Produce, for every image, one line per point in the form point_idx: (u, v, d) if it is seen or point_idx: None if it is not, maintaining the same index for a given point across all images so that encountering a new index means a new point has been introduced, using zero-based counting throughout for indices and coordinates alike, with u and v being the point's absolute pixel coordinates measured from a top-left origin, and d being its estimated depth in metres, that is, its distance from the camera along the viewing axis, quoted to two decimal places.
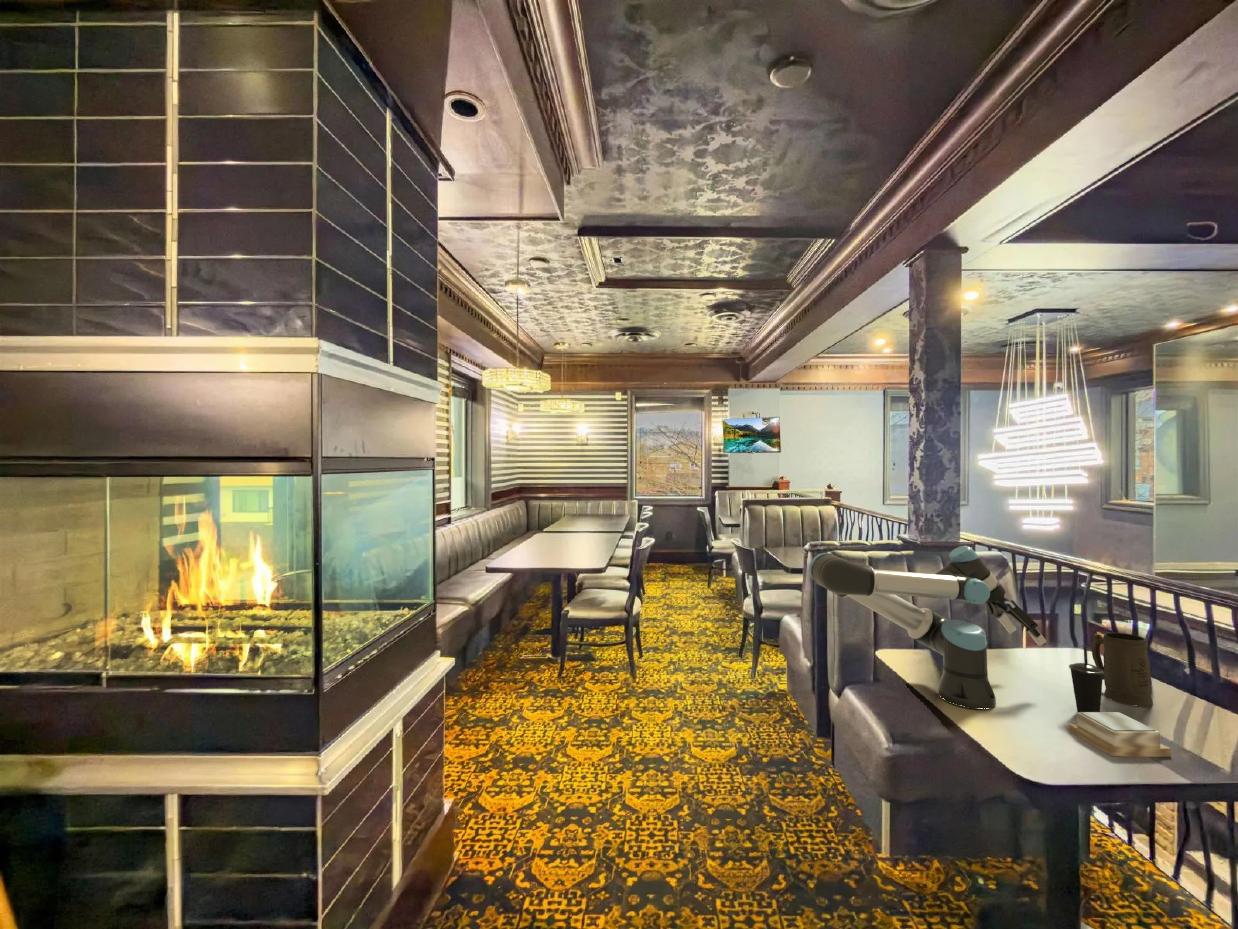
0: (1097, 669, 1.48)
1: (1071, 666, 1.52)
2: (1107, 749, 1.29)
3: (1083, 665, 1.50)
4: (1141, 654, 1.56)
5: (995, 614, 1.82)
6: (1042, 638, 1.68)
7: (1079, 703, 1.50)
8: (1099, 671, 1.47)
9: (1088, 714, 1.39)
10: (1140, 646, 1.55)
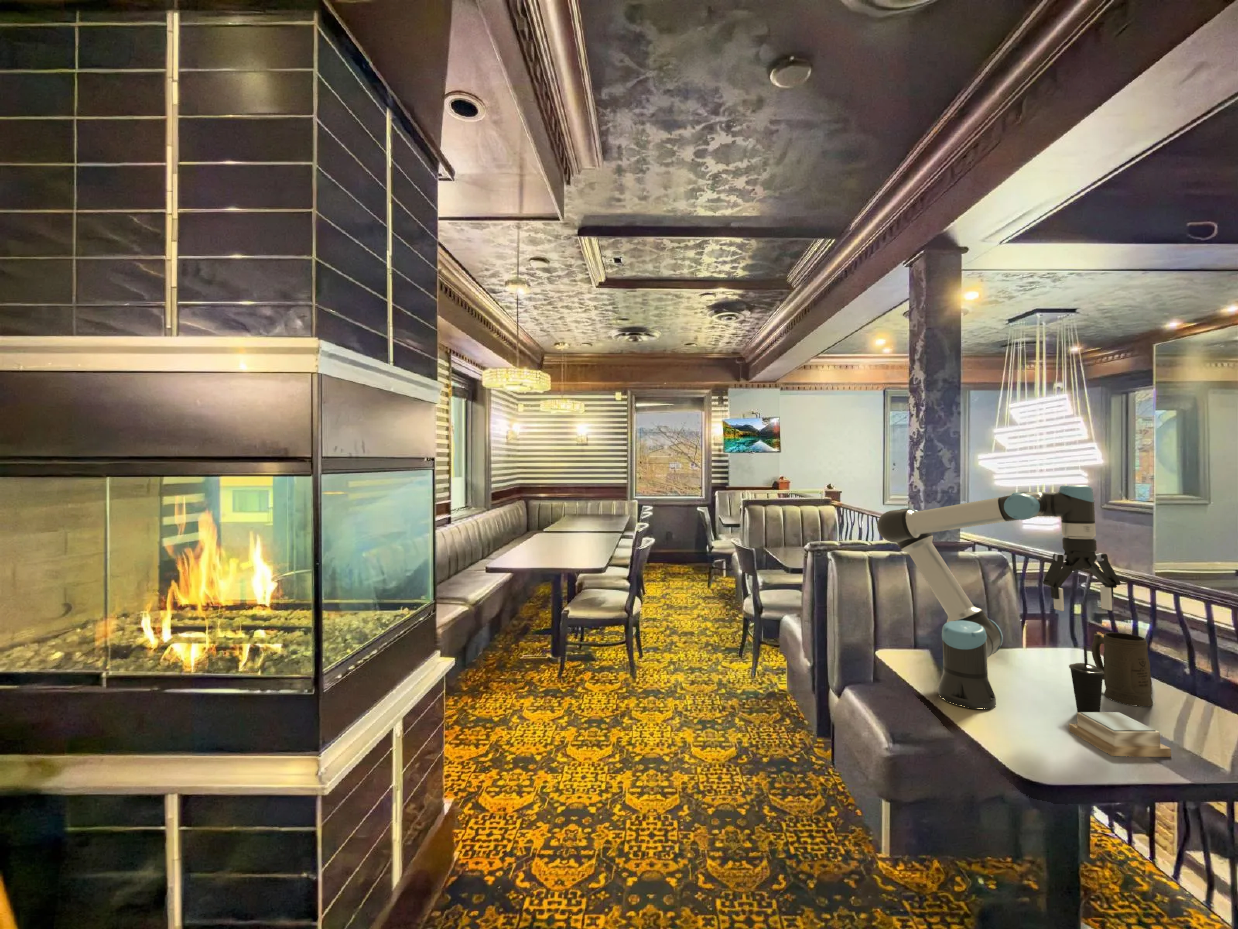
0: (1097, 669, 1.48)
1: (1071, 666, 1.52)
2: (1107, 749, 1.29)
3: (1083, 665, 1.50)
4: (1141, 654, 1.56)
5: None
6: (1059, 605, 1.51)
7: (1079, 703, 1.50)
8: (1099, 671, 1.47)
9: (1088, 714, 1.39)
10: (1140, 646, 1.55)
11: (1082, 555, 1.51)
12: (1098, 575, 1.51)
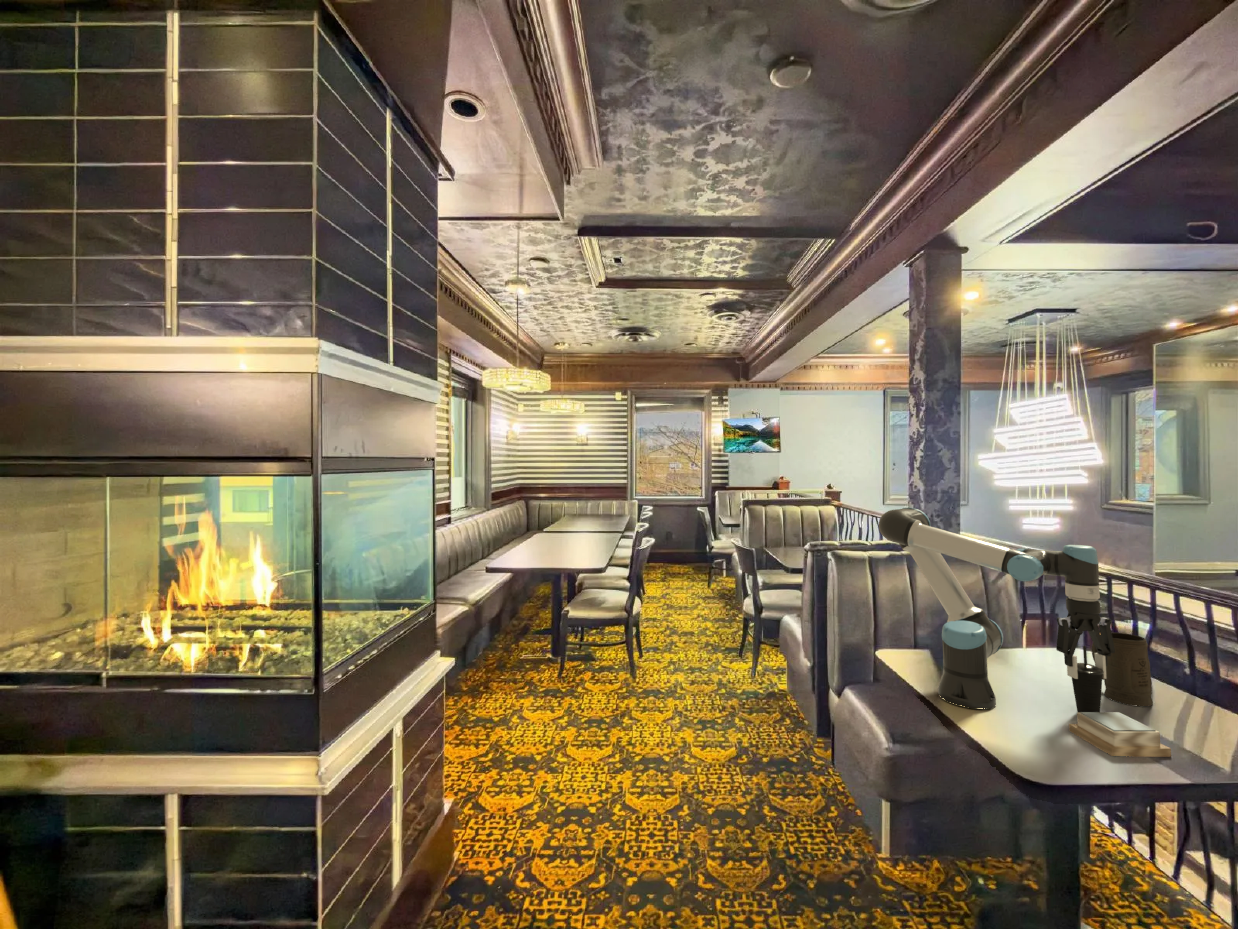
0: (1097, 669, 1.48)
1: None
2: (1107, 749, 1.29)
3: (1083, 665, 1.50)
4: (1141, 654, 1.56)
5: None
6: (1073, 672, 1.50)
7: (1079, 703, 1.50)
8: (1099, 671, 1.47)
9: (1088, 714, 1.39)
10: (1140, 646, 1.55)
11: (1086, 617, 1.50)
12: (1096, 639, 1.50)
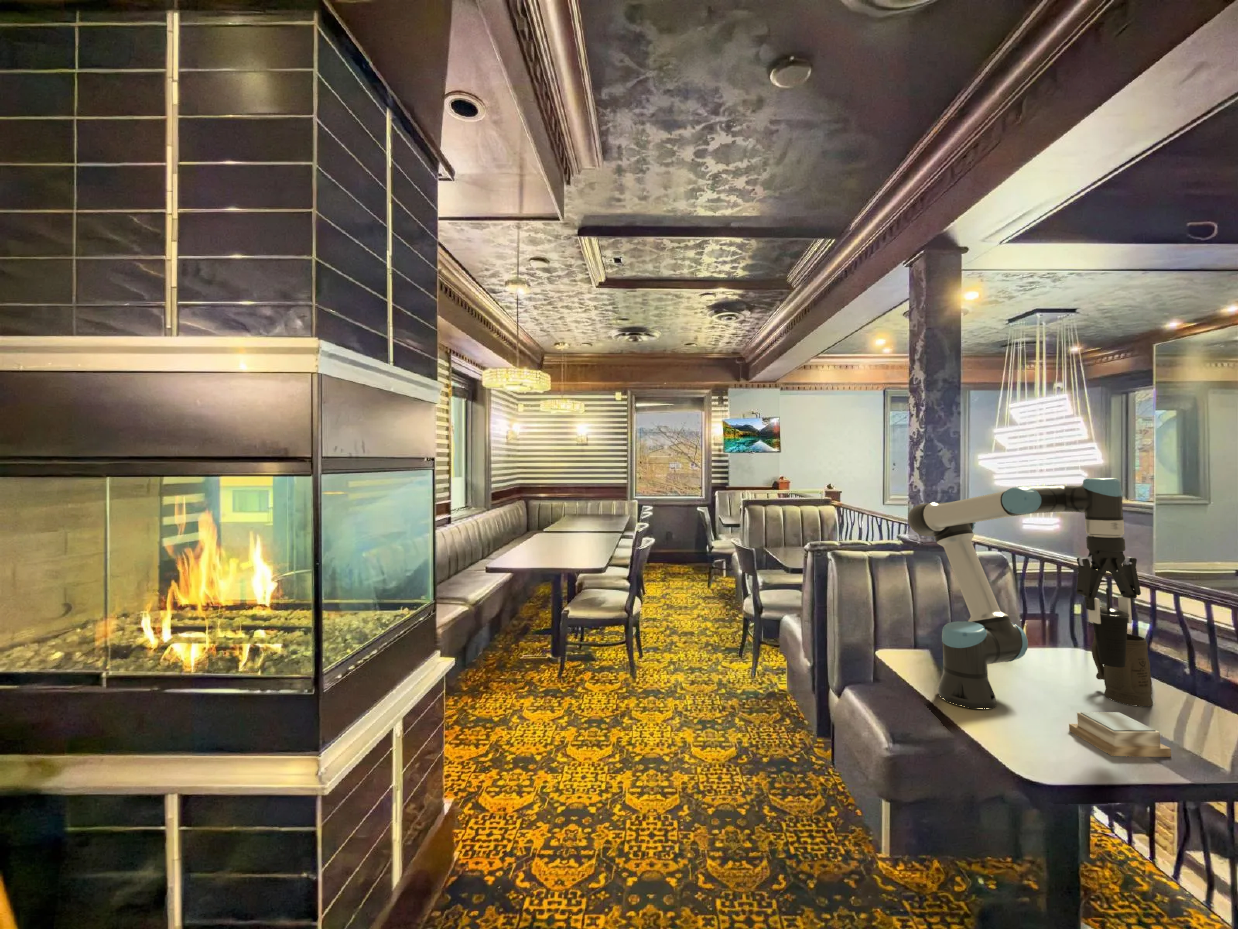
0: (1122, 612, 1.34)
1: None
2: (1107, 749, 1.29)
3: (1106, 609, 1.36)
4: (1141, 654, 1.56)
5: None
6: (1095, 617, 1.36)
7: (1102, 651, 1.36)
8: (1124, 614, 1.33)
9: (1088, 714, 1.39)
10: (1140, 646, 1.55)
11: (1109, 555, 1.36)
12: (1120, 580, 1.36)
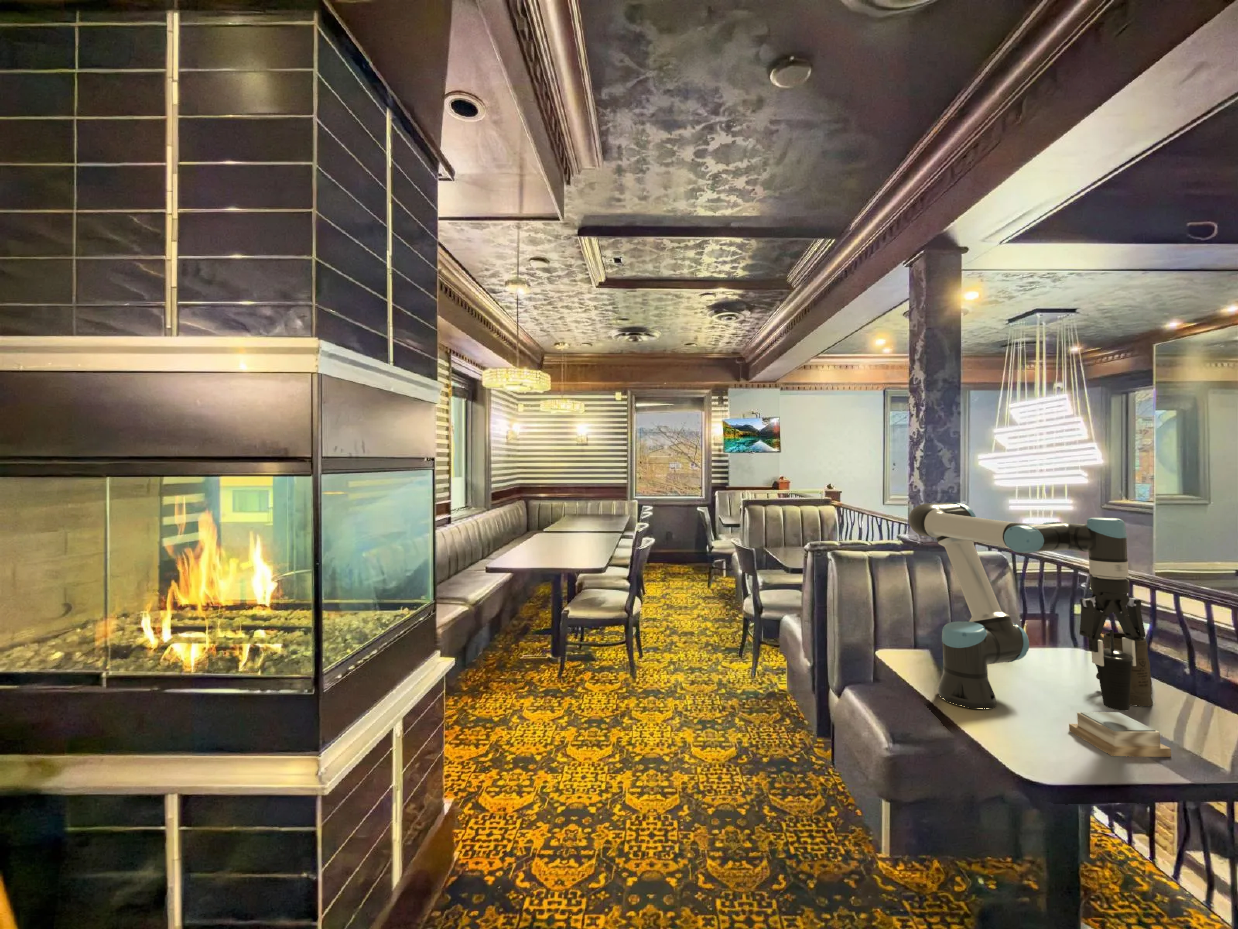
0: (1125, 655, 1.33)
1: None
2: (1107, 749, 1.29)
3: (1109, 651, 1.34)
4: (1141, 654, 1.56)
5: None
6: (1099, 659, 1.34)
7: (1105, 693, 1.34)
8: (1128, 657, 1.32)
9: (1088, 714, 1.39)
10: (1140, 646, 1.55)
11: (1113, 597, 1.34)
12: (1125, 622, 1.34)
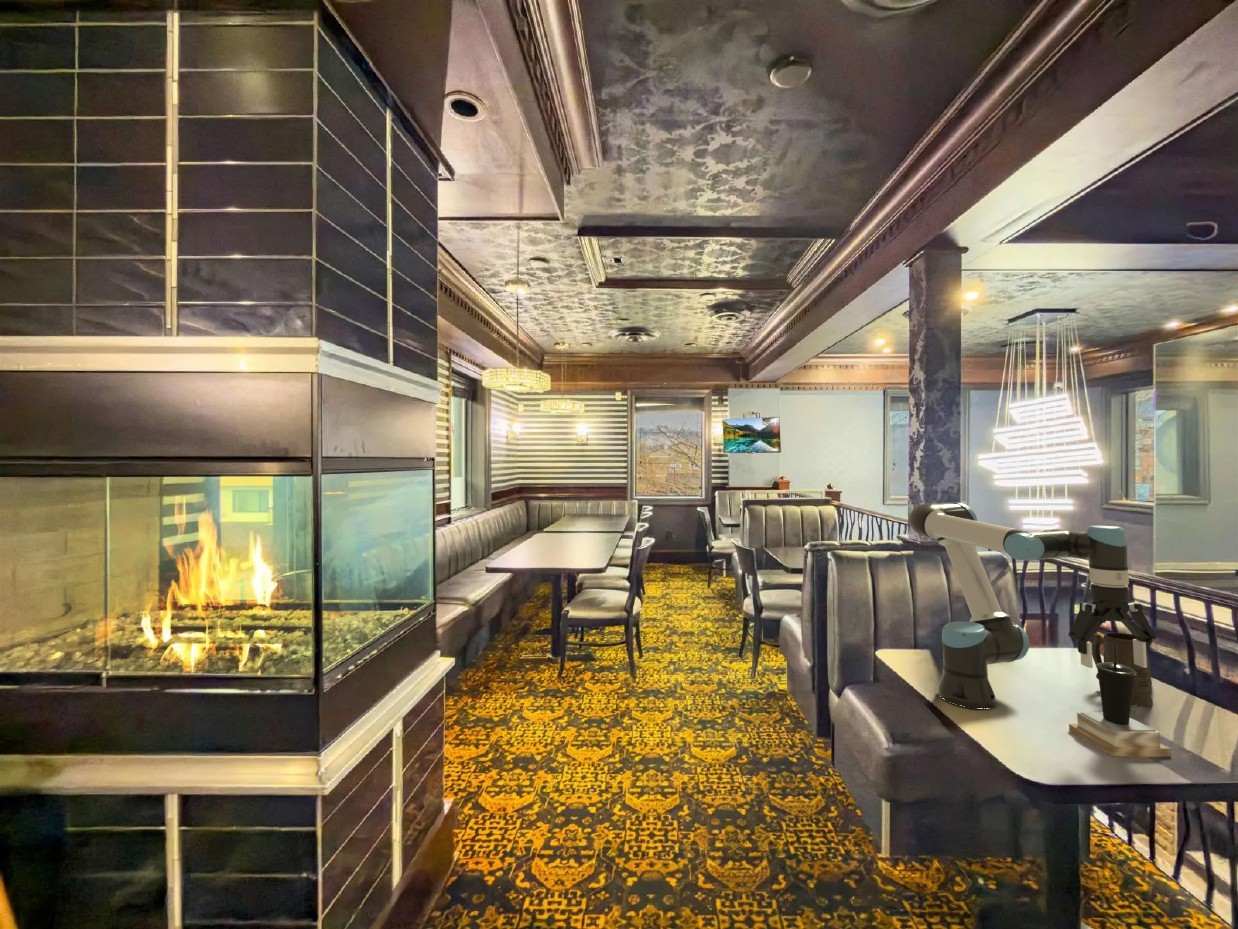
0: (1128, 669, 1.32)
1: (1098, 665, 1.36)
2: (1107, 749, 1.29)
3: (1112, 665, 1.34)
4: None
5: None
6: (1087, 661, 1.35)
7: (1106, 706, 1.34)
8: (1131, 672, 1.32)
9: (1088, 714, 1.39)
10: None
11: (1113, 605, 1.34)
12: (1131, 627, 1.34)
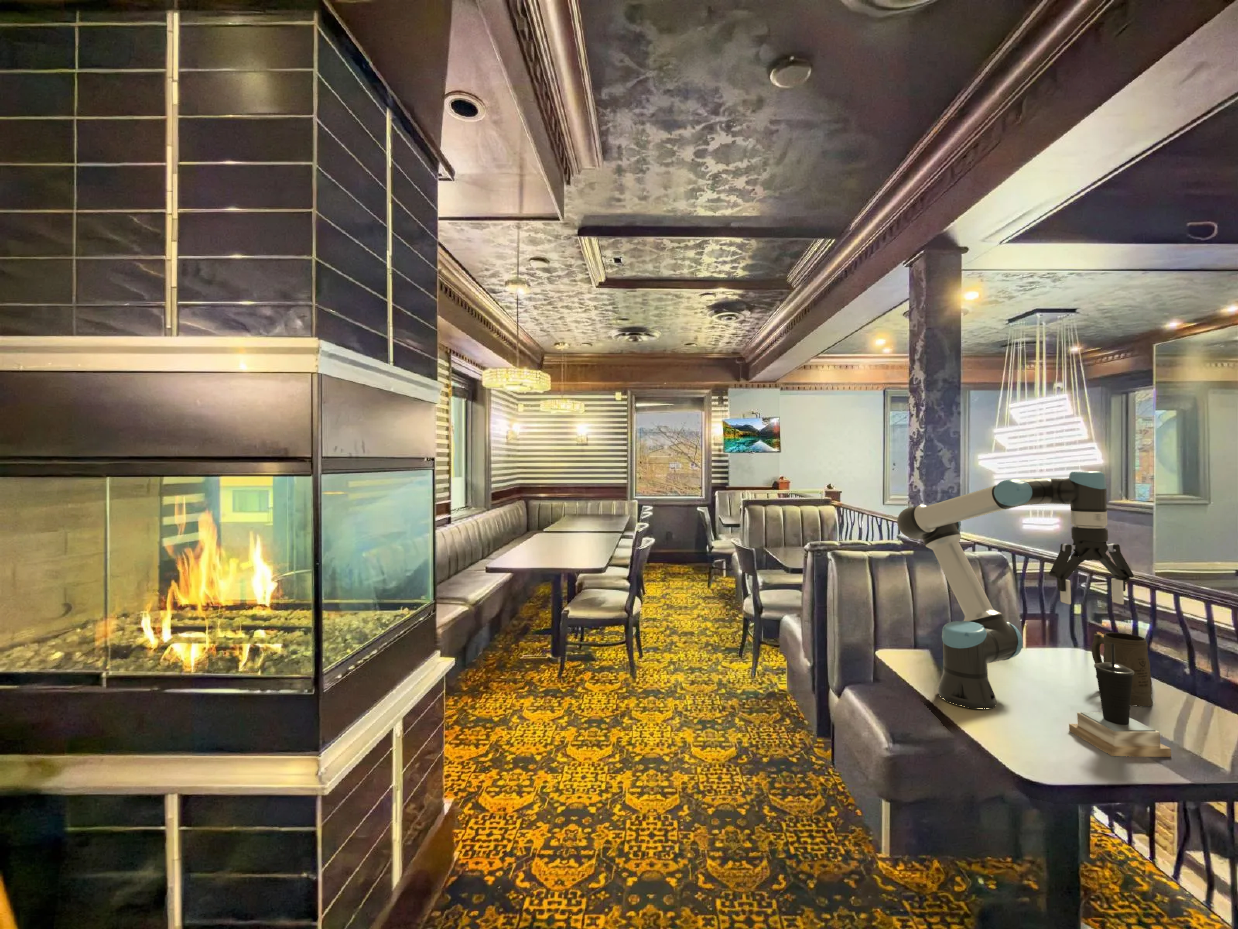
0: (1126, 669, 1.33)
1: (1097, 666, 1.36)
2: (1107, 749, 1.29)
3: (1110, 665, 1.34)
4: (1141, 654, 1.56)
5: None
6: (1066, 598, 1.42)
7: (1106, 707, 1.34)
8: (1129, 671, 1.32)
9: (1088, 714, 1.39)
10: (1140, 646, 1.55)
11: (1092, 545, 1.42)
12: (1109, 566, 1.42)
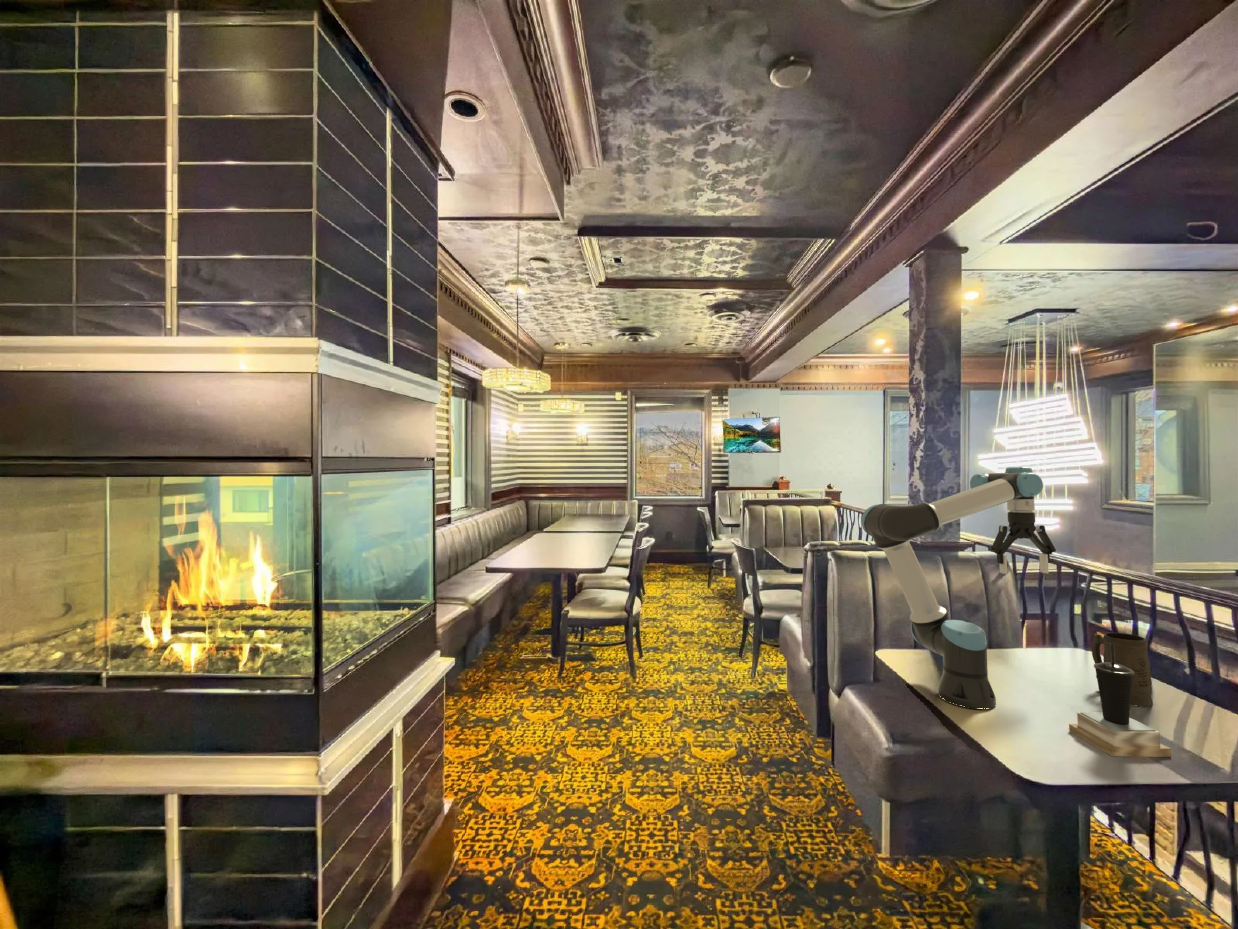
0: (1126, 669, 1.33)
1: (1096, 666, 1.36)
2: (1107, 749, 1.29)
3: (1110, 665, 1.34)
4: (1141, 654, 1.56)
5: None
6: (1003, 569, 1.77)
7: (1106, 707, 1.34)
8: (1128, 671, 1.32)
9: (1088, 714, 1.39)
10: (1140, 646, 1.55)
11: (1023, 526, 1.77)
12: (1037, 543, 1.76)
